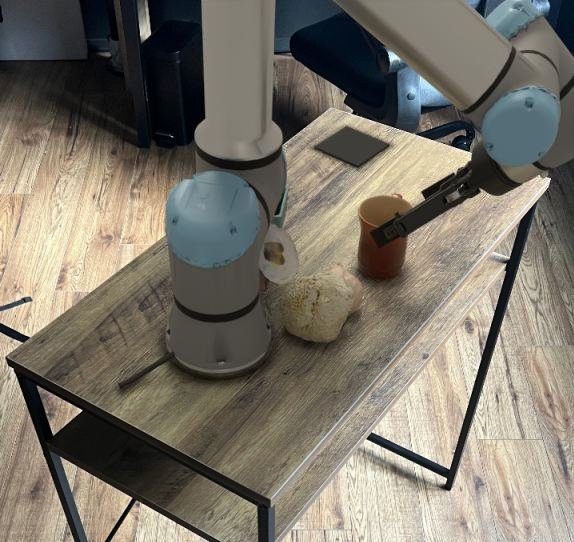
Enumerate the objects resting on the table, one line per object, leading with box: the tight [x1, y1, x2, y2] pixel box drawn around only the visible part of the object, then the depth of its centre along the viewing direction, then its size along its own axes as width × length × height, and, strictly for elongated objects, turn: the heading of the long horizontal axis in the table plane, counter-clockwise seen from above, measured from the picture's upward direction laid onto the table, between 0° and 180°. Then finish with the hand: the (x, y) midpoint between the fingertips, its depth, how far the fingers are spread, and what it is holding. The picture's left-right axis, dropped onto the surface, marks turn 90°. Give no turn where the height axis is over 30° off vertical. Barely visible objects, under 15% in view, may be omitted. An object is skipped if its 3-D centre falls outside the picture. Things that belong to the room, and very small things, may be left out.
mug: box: [356, 192, 414, 282], centre depth 127 cm, size 12×9×10 cm
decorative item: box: [279, 271, 355, 343], centre depth 117 cm, size 12×9×10 cm
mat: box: [313, 125, 390, 168], centre depth 152 cm, size 10×10×1 cm
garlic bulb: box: [327, 261, 364, 315], centre depth 122 cm, size 7×6×8 cm
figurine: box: [259, 210, 300, 294], centre depth 121 cm, size 11×10×15 cm
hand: (401, 218), depth 123 cm, fingers open, 13 cm apart
